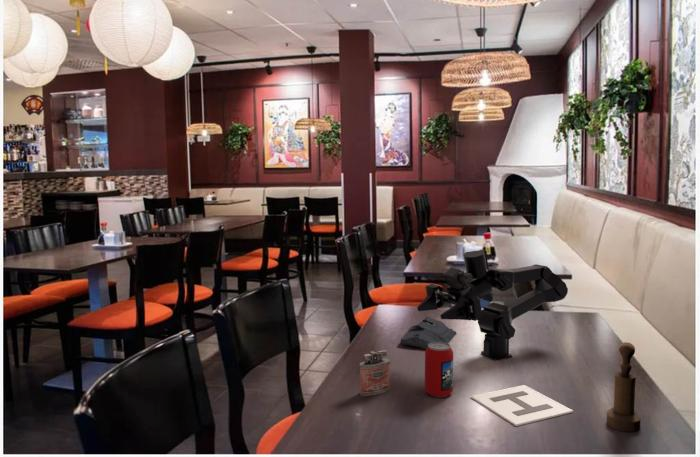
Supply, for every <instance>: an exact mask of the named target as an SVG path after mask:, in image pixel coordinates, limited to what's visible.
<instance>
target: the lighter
mask: <svg viewBox="0 0 700 457" xmlns="http://www.w3.org/2000/svg"><path fill="white" fill-rule="evenodd" d="M387 356H388V351H387V350H386V349H384V350H379V351H377V352H375V351H373V350H372V351H369V353H366V354H363V359H364V361H362V362H360V363H359V368H360V388H359V395H360V396H363V397H364V396H365V397H368V396H375V395H380V394H383V393H386V392H390V390H391V386H390V364H391V360H390V358H385V357H387Z"/></svg>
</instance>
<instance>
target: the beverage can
mask: <svg viewBox="0 0 700 457" xmlns="http://www.w3.org/2000/svg"><path fill="white" fill-rule="evenodd" d="M424 350H425V352H424V390H425V393H427V394H428V395H429V396H431V397H435V398H445V397H448V396H449V395H451V394H452V393H453V391H454V390H453V389H454V351H453V349H452V346H451V345H450V343H444V342H432V343H429V344H428V347H427V349H424Z"/></svg>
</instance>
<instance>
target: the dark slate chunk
mask: <svg viewBox="0 0 700 457" xmlns="http://www.w3.org/2000/svg"><path fill="white" fill-rule="evenodd" d="M456 335H457V331H456V330H453V328H450V327H448V326H446V324H445V323H444V322H443V321H441V320H438V319H435V318H433V317H431V316H426V317H424V318H423V319H422V320H421V321H420V322H418V324H415V325H412V326H410V327H409V329H408V330H407V332H405V333H404V335H403V337H401V339H400V342H401V343H400V344H402V345H404V346H409V347H415V348H419V349H423V350H426V349H427V347H428V344H429V343H432V342H444V343H448V344H450V342H451V341H452V340H453V338H454V337H455V336H456Z"/></svg>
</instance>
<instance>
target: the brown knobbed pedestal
mask: <svg viewBox="0 0 700 457" xmlns="http://www.w3.org/2000/svg"><path fill="white" fill-rule="evenodd" d="M618 351H619V354H620V355H621V357H622V361H621V362H619V366H620V370H621V371H617V372H615V373H614V394H613V396H614V397H613V407H611V408H610V409H608V410H607V412H606V424H607V425H608V426H609V427H610V428H612V429H614V430H617V431H619V432H625V433H632V432H638V431H640V429H641V418H642V417H641V415H639V414H638V413H637V412H636V410H635V401H636V400H635V399H636V397H635V396H636V381H637V377H636V376H637V375H636V374H634V373H632V372H631V371H632V367H633V364H632V363H631V359H632V357H633V356H634V354H636V348H635V346H634V344H632V343H631V342H626V341H625V342H622V343H620V345H619V347H618Z"/></svg>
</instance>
